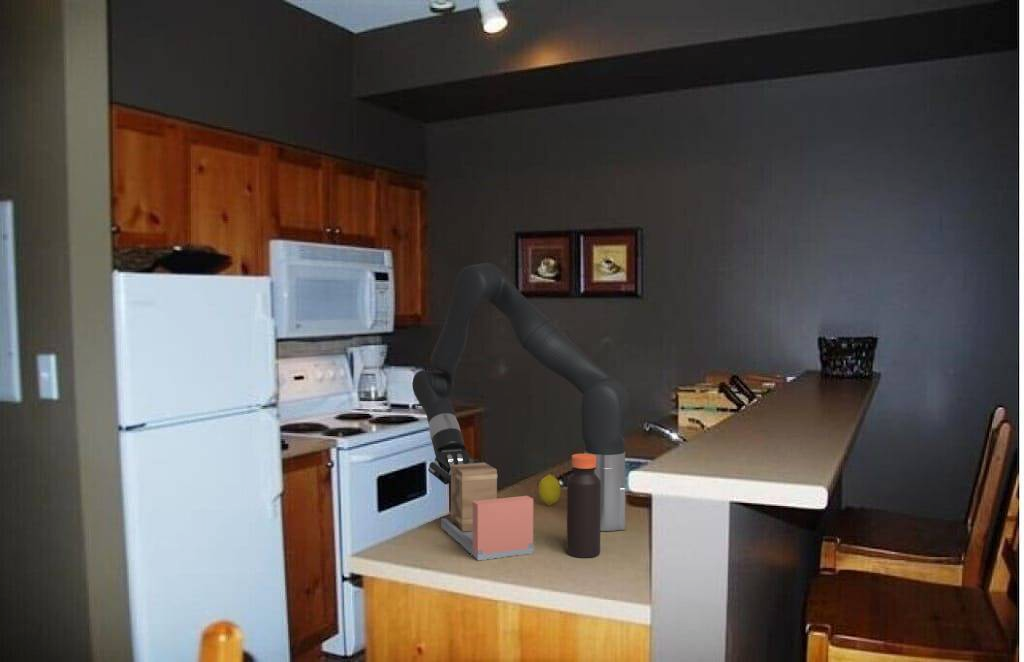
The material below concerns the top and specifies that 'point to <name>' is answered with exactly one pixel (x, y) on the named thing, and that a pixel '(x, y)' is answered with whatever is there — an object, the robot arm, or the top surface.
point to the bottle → (583, 508)
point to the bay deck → (467, 543)
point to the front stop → (502, 524)
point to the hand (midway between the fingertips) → (462, 496)
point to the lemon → (549, 489)
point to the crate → (470, 491)
